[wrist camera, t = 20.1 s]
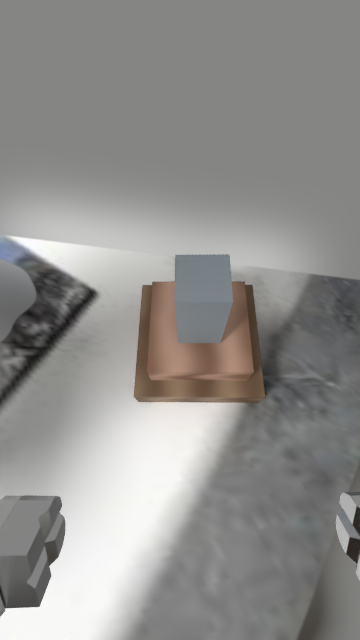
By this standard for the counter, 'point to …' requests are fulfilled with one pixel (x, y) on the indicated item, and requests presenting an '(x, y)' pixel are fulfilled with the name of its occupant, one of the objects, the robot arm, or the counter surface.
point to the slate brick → (202, 297)
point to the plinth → (196, 387)
